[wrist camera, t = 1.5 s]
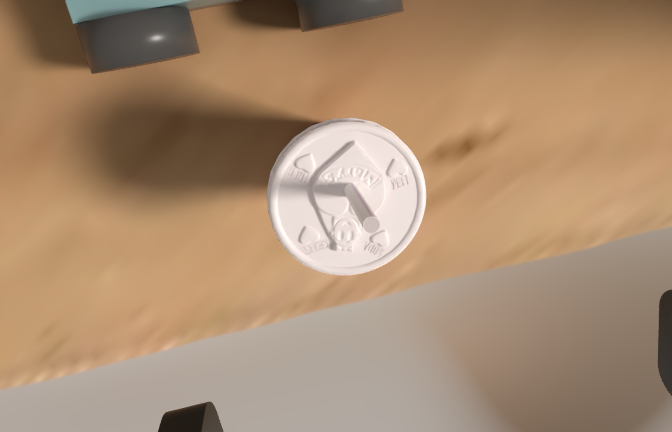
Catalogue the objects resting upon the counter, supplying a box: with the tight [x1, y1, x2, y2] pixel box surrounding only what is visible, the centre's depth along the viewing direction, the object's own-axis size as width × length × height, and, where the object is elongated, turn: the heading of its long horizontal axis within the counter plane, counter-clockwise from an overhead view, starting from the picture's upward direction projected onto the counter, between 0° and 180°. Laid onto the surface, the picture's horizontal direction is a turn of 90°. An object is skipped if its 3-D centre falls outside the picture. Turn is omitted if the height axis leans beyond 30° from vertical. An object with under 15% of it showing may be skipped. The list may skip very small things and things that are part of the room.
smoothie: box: [267, 118, 426, 275], centre depth 22 cm, size 6×6×14 cm
